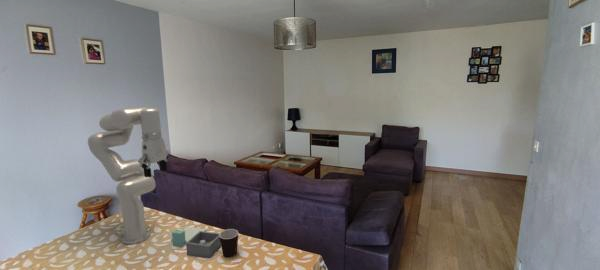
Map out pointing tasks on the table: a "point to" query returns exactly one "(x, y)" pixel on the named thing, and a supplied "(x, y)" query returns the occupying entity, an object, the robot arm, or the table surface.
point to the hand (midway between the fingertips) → (156, 173)
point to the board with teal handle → (184, 235)
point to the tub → (203, 244)
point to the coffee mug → (229, 242)
